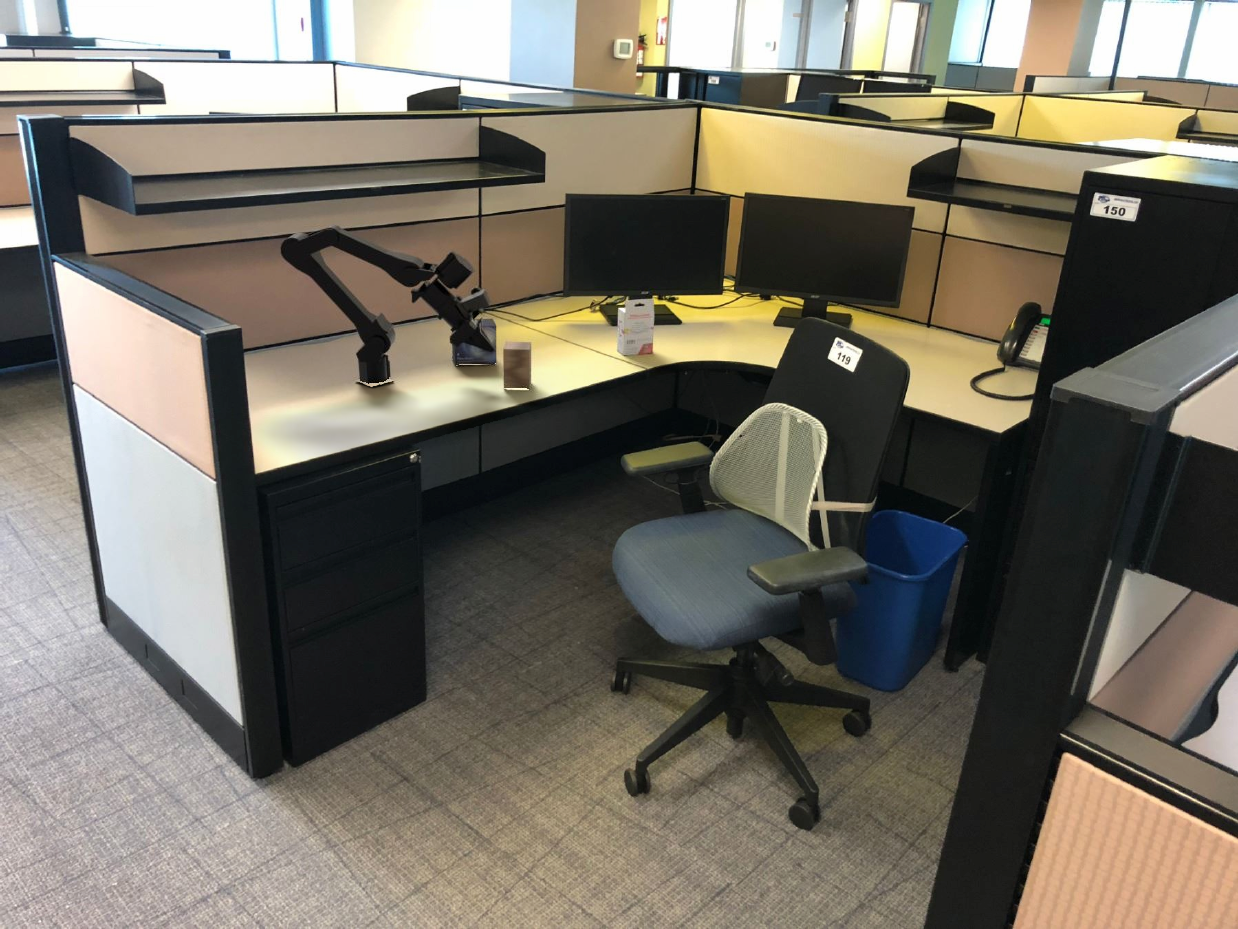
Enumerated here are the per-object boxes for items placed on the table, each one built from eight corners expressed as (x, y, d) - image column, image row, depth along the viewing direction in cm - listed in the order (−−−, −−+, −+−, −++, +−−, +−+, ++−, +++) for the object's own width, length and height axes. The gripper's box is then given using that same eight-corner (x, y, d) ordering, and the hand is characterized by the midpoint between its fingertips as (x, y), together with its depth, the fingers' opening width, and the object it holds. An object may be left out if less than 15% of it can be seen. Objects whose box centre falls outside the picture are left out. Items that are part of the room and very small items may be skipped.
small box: (454, 367, 238) (453, 326, 233) (451, 359, 243) (450, 319, 239) (497, 365, 240) (496, 324, 236) (493, 357, 246) (492, 317, 242)
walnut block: (503, 390, 224) (503, 348, 220) (505, 382, 229) (505, 341, 225) (529, 391, 224) (529, 349, 220) (531, 382, 229) (531, 342, 225)
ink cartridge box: (645, 348, 259) (648, 294, 253) (653, 353, 254) (655, 298, 248) (616, 350, 256) (618, 296, 250) (623, 356, 251) (625, 300, 245)
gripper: (462, 288, 207) (514, 339, 212) (473, 269, 224) (520, 316, 229) (427, 322, 210) (479, 372, 215) (440, 301, 227) (488, 347, 232)
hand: (493, 350), depth 223 cm, fingers closed
